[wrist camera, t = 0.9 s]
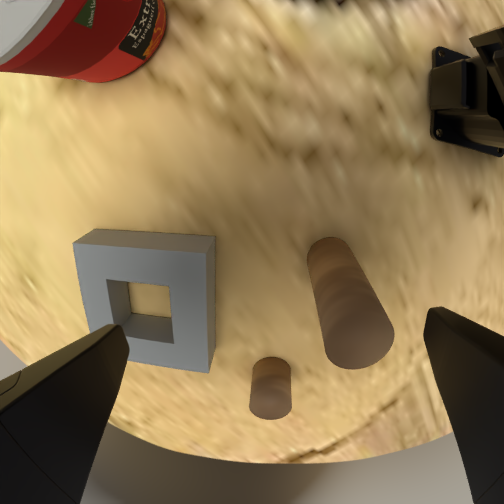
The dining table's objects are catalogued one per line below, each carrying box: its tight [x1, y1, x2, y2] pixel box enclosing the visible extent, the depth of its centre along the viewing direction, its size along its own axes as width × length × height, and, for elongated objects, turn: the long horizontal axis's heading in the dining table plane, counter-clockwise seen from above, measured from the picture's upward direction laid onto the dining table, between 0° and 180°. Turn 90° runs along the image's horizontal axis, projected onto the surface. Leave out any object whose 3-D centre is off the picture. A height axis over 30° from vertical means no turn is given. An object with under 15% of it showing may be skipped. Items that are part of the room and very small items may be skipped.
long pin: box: [307, 237, 394, 369], centre depth 16 cm, size 3×3×9 cm
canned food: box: [0, 0, 166, 82], centre depth 11 cm, size 8×8×11 cm
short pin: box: [249, 357, 292, 420], centre depth 23 cm, size 3×3×4 cm
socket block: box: [73, 229, 216, 373], centre depth 21 cm, size 9×9×3 cm
